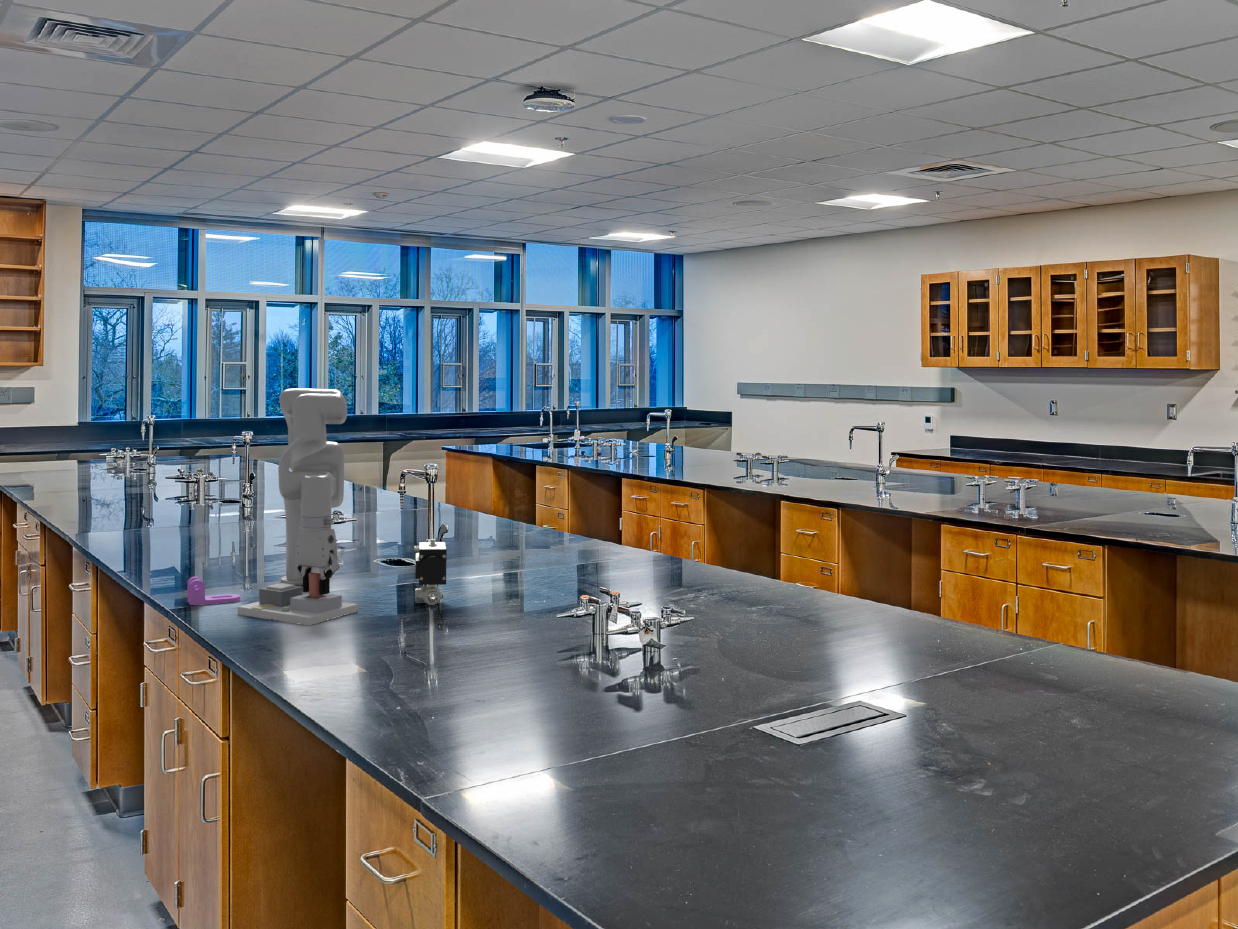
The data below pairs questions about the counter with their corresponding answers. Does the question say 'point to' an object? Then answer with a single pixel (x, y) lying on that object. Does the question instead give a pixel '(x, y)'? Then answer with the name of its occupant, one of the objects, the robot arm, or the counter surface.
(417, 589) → the ball valve
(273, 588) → the button
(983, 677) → the counter surface
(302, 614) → the panel
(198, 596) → the bracket
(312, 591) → the peg
